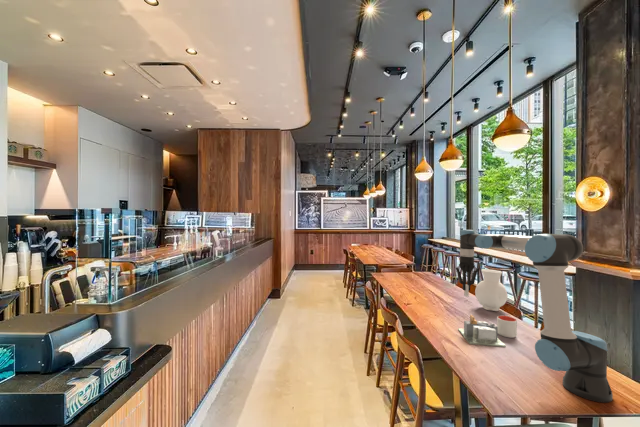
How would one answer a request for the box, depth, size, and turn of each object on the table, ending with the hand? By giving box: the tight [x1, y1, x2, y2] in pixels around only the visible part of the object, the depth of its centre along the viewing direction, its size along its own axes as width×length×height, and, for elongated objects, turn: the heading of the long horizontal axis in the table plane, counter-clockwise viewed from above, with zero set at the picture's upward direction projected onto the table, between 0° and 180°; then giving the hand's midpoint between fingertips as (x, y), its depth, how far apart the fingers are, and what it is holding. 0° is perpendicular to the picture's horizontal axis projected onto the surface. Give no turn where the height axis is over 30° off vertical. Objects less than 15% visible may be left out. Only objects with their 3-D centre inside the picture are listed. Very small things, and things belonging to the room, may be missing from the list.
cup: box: [496, 315, 518, 339], centre depth 174 cm, size 10×10×10 cm
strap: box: [474, 323, 493, 328], centre depth 169 cm, size 3×12×1 cm, turn 81°
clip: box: [469, 314, 478, 324], centre depth 170 cm, size 4×2×4 cm, turn 171°
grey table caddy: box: [457, 320, 507, 348], centre depth 169 cm, size 20×18×9 cm
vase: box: [474, 268, 508, 312], centre depth 222 cm, size 19×21×30 cm
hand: (466, 295), depth 170 cm, fingers closed
